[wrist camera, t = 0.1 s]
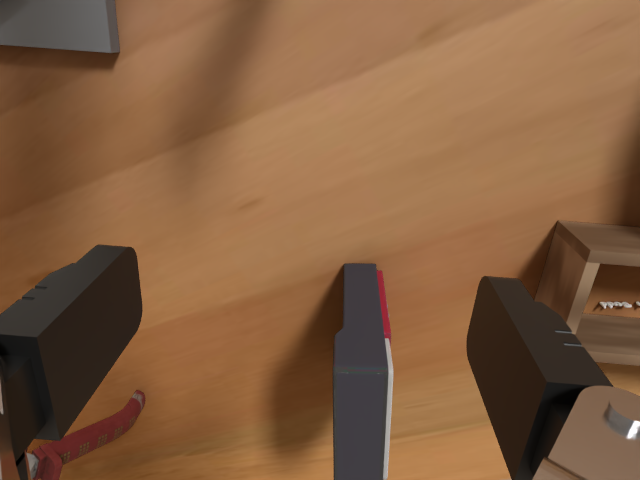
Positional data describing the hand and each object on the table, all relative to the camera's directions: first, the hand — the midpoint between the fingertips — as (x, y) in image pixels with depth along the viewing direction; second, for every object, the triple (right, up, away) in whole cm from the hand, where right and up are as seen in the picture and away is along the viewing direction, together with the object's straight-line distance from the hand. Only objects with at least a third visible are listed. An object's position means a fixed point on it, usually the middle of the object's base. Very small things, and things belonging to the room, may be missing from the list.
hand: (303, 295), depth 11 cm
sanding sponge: (+4, -6, +35) cm, 35 cm away
